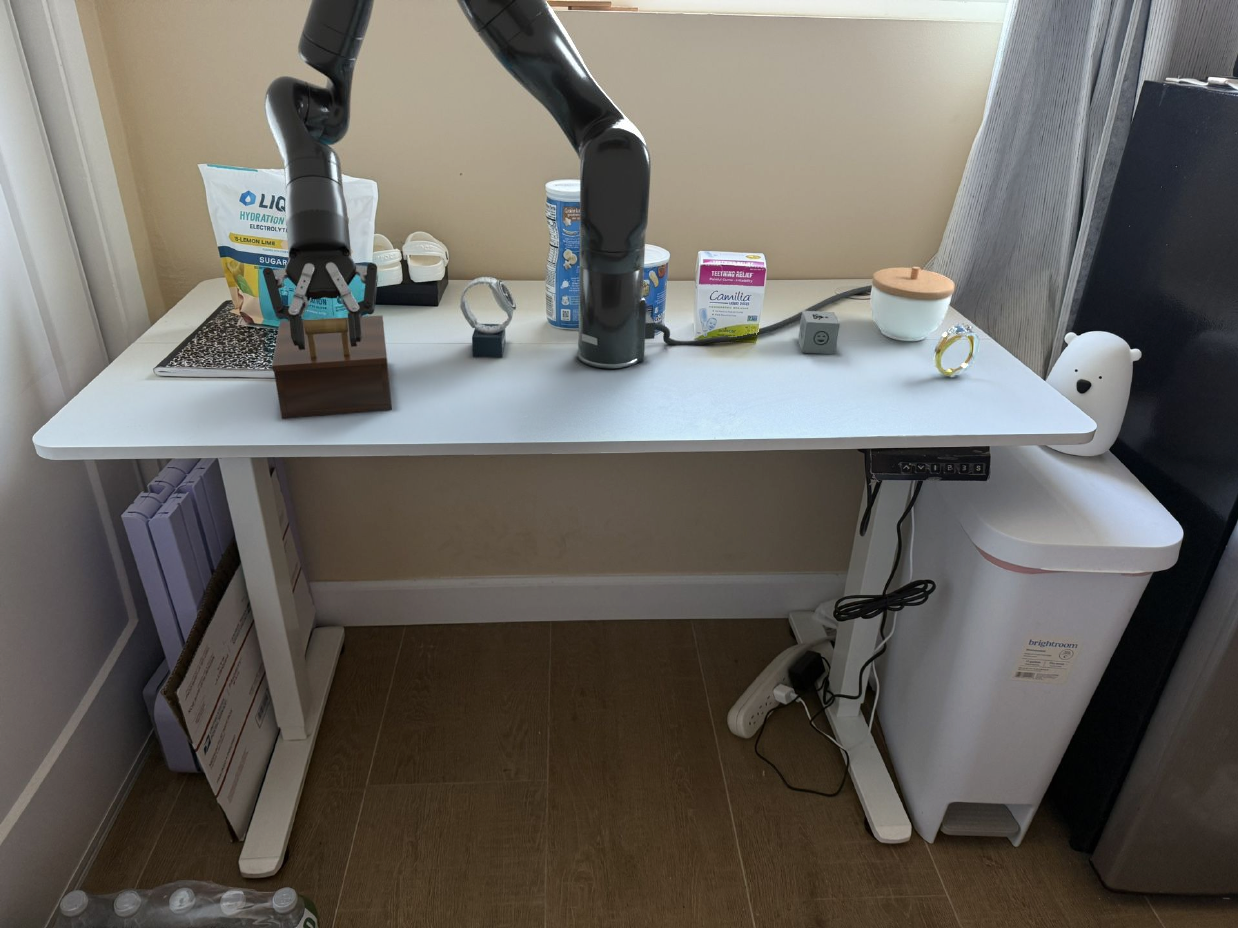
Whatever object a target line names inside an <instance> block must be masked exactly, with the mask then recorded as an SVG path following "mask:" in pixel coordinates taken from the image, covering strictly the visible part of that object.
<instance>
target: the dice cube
mask: <svg viewBox="0 0 1238 928" xmlns="http://www.w3.org/2000/svg"><path fill="white" fill-rule="evenodd" d="M801 312H802V316H801V319H800V324H799V331H798V338H797V342H798V344H799V347H800V350H801V353H802V354H824V355H835V354H836V350H837V344H838V338H839V333H840V332H839V331H840V326H841V323H840V320H839V318H838V317H837V315H836V313H835V311H819V310H816V311H804V310H802V311H801Z"/></svg>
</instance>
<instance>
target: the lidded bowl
mask: <svg viewBox="0 0 1238 928" xmlns="http://www.w3.org/2000/svg"><path fill="white" fill-rule="evenodd" d="M871 285H872V290H871V291H870V298H869V299H870V301H869V303H870V312H871V317H872V318H873V321H874V322H875V324H876V326H877V327H878V328H879V329H880V333H881V334H882V335H883V336H885V337H887V338H889V339H893V340H895V341H896V340H897V341H900V342H901V341H903V342H919V341H922V340H925V338H926V337H927V336H928V335H930V334H931V333H932V332H934V331H935V330H936V329H938V328H939V326H940V325H941V324H942V322H943V321H944V319H945V318H946V315H947V313H948V311H949V308H950V305H951V301H952V295H953V294H954V292H955V287H956V284H955V282H954V281H953V280H952V279H950V278H949V277H947V276H945V275H943V274H940V273H939V272H938V273H937V272H934V271H930V270H926V269H921V267H919V266H912V267H888V268H883V269H880V270H877V271H876V272H874V273H873V275H872V278H871Z"/></svg>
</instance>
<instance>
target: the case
mask: <svg viewBox="0 0 1238 928" xmlns="http://www.w3.org/2000/svg"><path fill="white" fill-rule="evenodd" d="M385 334H386V333H384V336H385ZM385 337H386V336H385ZM385 346H386V347H387V345H386V343H385ZM386 357H387V358H388V355H387V353H386ZM273 374H274V375H273V376H274V380H275V386H276V392H277V398H278V403H279V409H280V415H281V419H294V418H295V419H296V418H307V417H319V416H331V415H344V414H345V415H346V414H356V413H366V412H367V413H368V412H379V411H380V412H381V411H391V410H393V405H392V395H391V386H390V375H389V374H390V373H389V364H388V362H387V364H373V365H359V366H345V367H331V368H317V369H302V370H288V371H274V372H273Z"/></svg>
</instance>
